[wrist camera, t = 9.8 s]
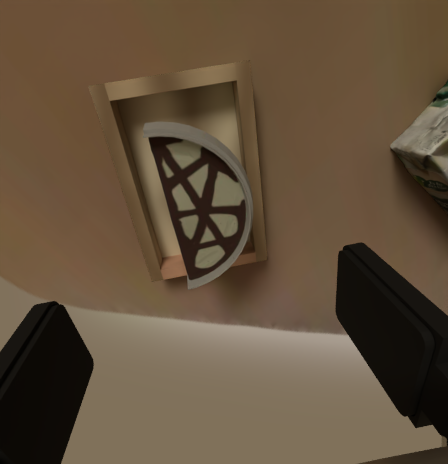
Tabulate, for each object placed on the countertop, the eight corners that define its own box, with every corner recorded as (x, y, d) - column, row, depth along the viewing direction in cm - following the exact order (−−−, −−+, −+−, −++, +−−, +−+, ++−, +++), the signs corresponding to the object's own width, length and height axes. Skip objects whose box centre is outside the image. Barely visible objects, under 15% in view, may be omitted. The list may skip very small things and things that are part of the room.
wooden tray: (242, 64, 24) (250, 60, 21) (260, 245, 33) (267, 260, 30) (100, 87, 24) (88, 86, 21) (155, 264, 32) (152, 281, 29)
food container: (244, 224, 30) (268, 278, 21) (188, 235, 30) (189, 295, 21) (225, 101, 25) (246, 105, 16) (156, 114, 25) (139, 126, 16)
